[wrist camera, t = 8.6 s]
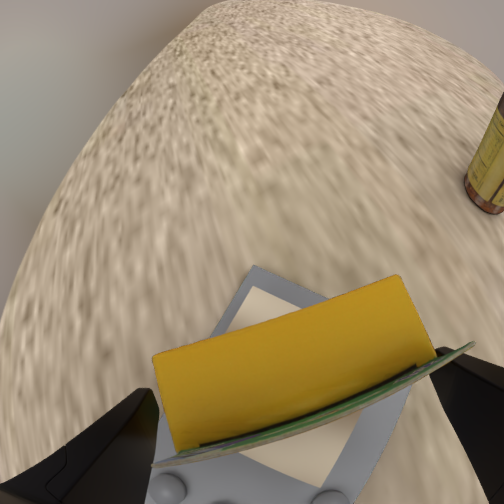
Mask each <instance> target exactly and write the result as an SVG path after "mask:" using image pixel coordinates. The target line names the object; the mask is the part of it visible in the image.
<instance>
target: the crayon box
mask: <svg viewBox="0 0 504 504" xmlns="http://www.w3.org/2000/svg"><path fill="white" fill-rule="evenodd" d="M475 344H476V342H475V341H472V342H469V343H468V344H466V345H465V346H463V347H461V348H459V349H457V350H454V351H452V352H450V353H448V354H446V355H444V356H441V357H438V358H437V355H436V351H435V349H434V347H433V346H432V343H431V341H430V338H429V336H428V334H427V332H426V330H425V328H424V325H423V323H422V321H421V319H420V317H419V315H418V312H417V310H416V308H415V306H414V304H413V302H412V300H411V298H410V296H409V294H408V292H407V290H406V288H405V286H404V283H403V281H402V278H401V277H400V276H399V275H393V276H390V277H387V278H385V279H382V280H379V281H377V282H374V283H372V284H369V285H366V286H364V287H361V288H358V289H356V290H353V291H350V292H348V293H346V294H343V295H340V296H337V297H334V298H332V299H329V300H326V301H323V302H320V303H318V304H315V305H312V306H309V307H306V308H303V309H300V310H297V311H294V312H290V313H288V314H285V315H282V316H279V317H277V318H274V319H270V320H267V321H264V322H261V323H258V324H255V325H251V326H248V327H245V328H242V329H238V330H235V331H232V332H229V333H225V334H222V335H219V336H216V337H212V338H209V339H206V340H202V341H198V342H196V343H193V344H189V345H185V346H181V347H179V348H175V349H171V350H168V351H164V352H161V353H158V354H156V355H154V356H153V357H152V362H153V365H154V369H155V374H156V378H157V382H158V387H159V392H160V396H161V400H162V404H163V408H164V412H165V415H166V419H167V422H168V426H169V430H170V433H171V436H172V440H173V444H174V448H175V451H176V453H177V455H175V456H172V457H170V458H167V459H164V460H161V461H158V462H155V463H153V464H151V467H153V468H164V467H170V466H176V465H181V464H188V463H193V462H198V461H203V460H207V459H211V458H216V457H221V456H225V455H229V454H233V453H237V452H241V451H245V450H249V449H252V448H256V447H259V446H263V445H266V444H269V443H273V442H276V441H279V440H283V439H286V438H289V437H292V436H295V435H298V434H301V433H304V432H307V431H310V430H312V429H315V428H318V427H320V426H323V425H326V424H328V423H331V422H333V421H336V420H338V419H341V418H343V417H346V416H348V415H350V414H352V413H355V412H357V411H359V410H361V409H363V408H366V407H368V406H370V405H372V404H374V403H376V402H378V401H380V400H383V399H385V398H387V397H389V396H391V395H393V394H395V393H396V392H398V391H400V390H402V389H404V388H406V387H407V386H409V385H411V384H413V383H415V382H416V381H418V380H420V379H421V378H423V377H425V376H427V375H428V374H430V373H432V372H433V371H435V370H437V369H438V368H440V367H442V366H444V365H445V364H447V363H448V362H450V361H452V360H453V359H455V358H456V357H458V356H459V355H461V354H463V353H464V352H466V351H467V350H469V349H470V348H472V347H473V346H474V345H475Z"/></svg>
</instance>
